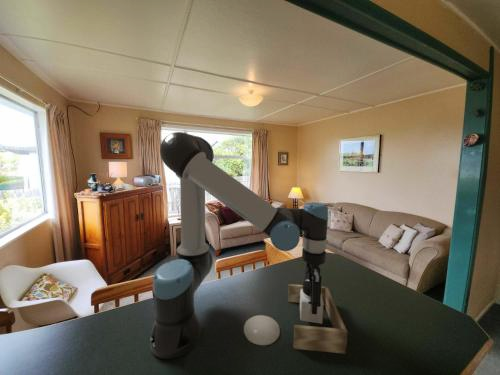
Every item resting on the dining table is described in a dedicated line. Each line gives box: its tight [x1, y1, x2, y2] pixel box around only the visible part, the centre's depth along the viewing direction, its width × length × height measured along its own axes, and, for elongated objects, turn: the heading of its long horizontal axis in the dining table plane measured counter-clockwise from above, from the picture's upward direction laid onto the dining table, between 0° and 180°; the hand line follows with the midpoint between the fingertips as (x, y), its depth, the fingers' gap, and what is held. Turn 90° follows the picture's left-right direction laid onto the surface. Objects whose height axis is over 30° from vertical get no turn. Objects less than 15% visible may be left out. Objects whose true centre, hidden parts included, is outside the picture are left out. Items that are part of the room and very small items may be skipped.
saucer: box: [243, 314, 281, 346], centre depth 69 cm, size 12×12×1 cm
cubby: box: [287, 283, 348, 355], centre depth 71 cm, size 15×22×7 cm
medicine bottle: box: [299, 279, 325, 325], centre depth 71 cm, size 7×7×12 cm
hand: (310, 311), depth 71 cm, fingers closed on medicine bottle, 7 cm apart
